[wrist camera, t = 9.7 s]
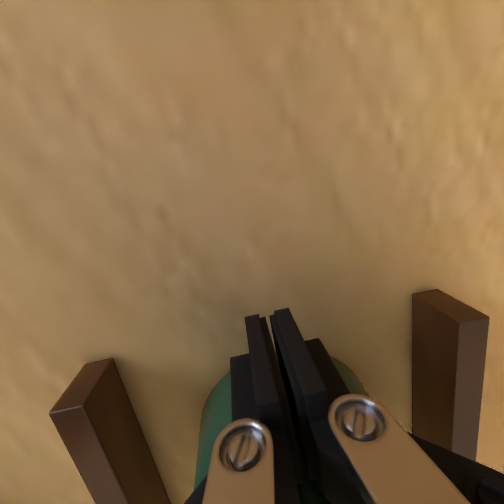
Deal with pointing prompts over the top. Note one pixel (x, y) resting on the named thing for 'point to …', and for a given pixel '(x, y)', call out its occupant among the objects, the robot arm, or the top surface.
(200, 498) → the robot arm
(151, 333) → the top surface
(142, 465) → the walnut frame
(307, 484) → the tin can
